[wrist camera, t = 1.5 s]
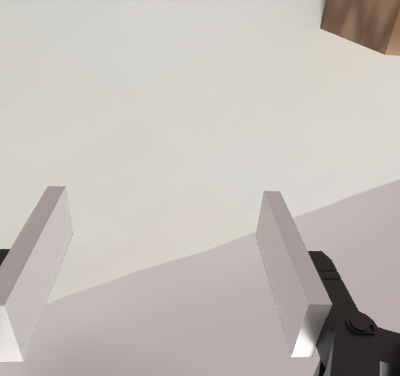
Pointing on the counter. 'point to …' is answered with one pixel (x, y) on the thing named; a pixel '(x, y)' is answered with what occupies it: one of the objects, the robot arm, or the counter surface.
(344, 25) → the tee block
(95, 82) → the counter surface
